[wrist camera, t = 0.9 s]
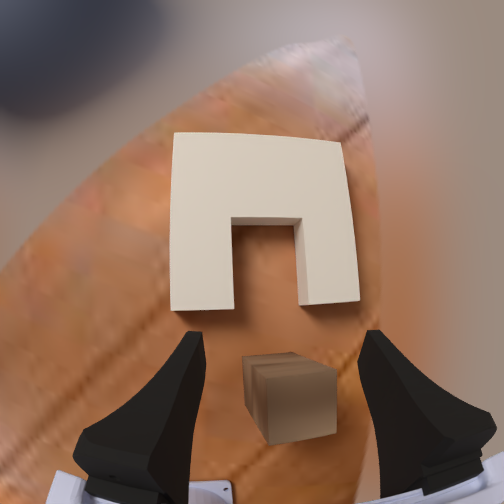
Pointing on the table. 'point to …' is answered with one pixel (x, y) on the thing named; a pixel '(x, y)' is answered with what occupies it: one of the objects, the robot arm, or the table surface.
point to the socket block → (258, 214)
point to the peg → (290, 396)
